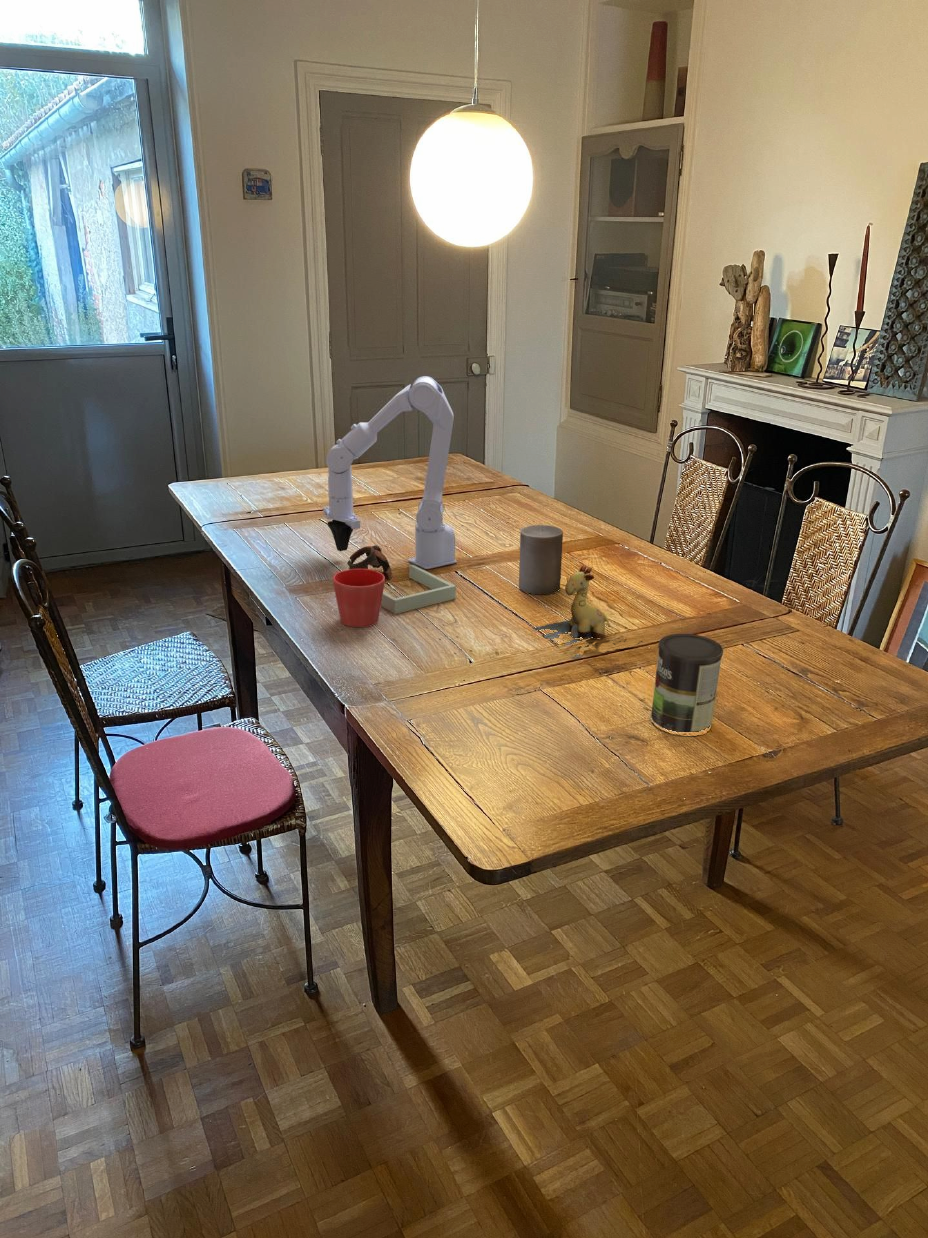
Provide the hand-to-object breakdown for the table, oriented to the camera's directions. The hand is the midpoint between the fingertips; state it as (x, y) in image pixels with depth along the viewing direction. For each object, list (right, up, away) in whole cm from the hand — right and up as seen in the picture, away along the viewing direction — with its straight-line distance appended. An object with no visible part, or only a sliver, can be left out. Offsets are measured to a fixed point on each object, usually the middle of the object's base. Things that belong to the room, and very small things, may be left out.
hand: (342, 549), depth 230 cm
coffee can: (+66, -34, -71) cm, 103 cm away
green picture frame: (+16, -11, -19) cm, 28 cm away
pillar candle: (+47, -10, -13) cm, 50 cm away
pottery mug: (+8, -7, -8) cm, 13 cm away
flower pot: (+8, -17, -34) cm, 39 cm away
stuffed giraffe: (+55, -21, -39) cm, 71 cm away
